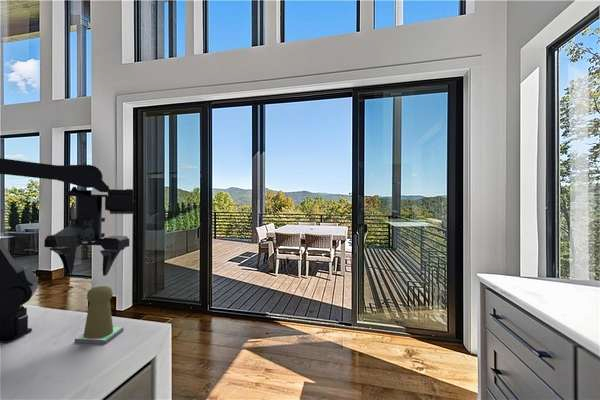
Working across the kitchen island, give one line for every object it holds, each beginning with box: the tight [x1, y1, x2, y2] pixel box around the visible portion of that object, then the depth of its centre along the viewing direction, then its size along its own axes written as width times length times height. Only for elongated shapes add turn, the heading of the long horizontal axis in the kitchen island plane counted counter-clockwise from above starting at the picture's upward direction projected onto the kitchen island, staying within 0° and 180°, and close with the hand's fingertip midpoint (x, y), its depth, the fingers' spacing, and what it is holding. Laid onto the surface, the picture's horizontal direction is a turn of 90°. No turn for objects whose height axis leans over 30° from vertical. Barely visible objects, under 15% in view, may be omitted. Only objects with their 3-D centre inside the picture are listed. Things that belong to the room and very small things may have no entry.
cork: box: [83, 285, 114, 339], centre depth 75 cm, size 6×6×11 cm
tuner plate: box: [74, 326, 124, 345], centre depth 76 cm, size 7×7×1 cm
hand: (87, 274), depth 81 cm, fingers open, 9 cm apart
